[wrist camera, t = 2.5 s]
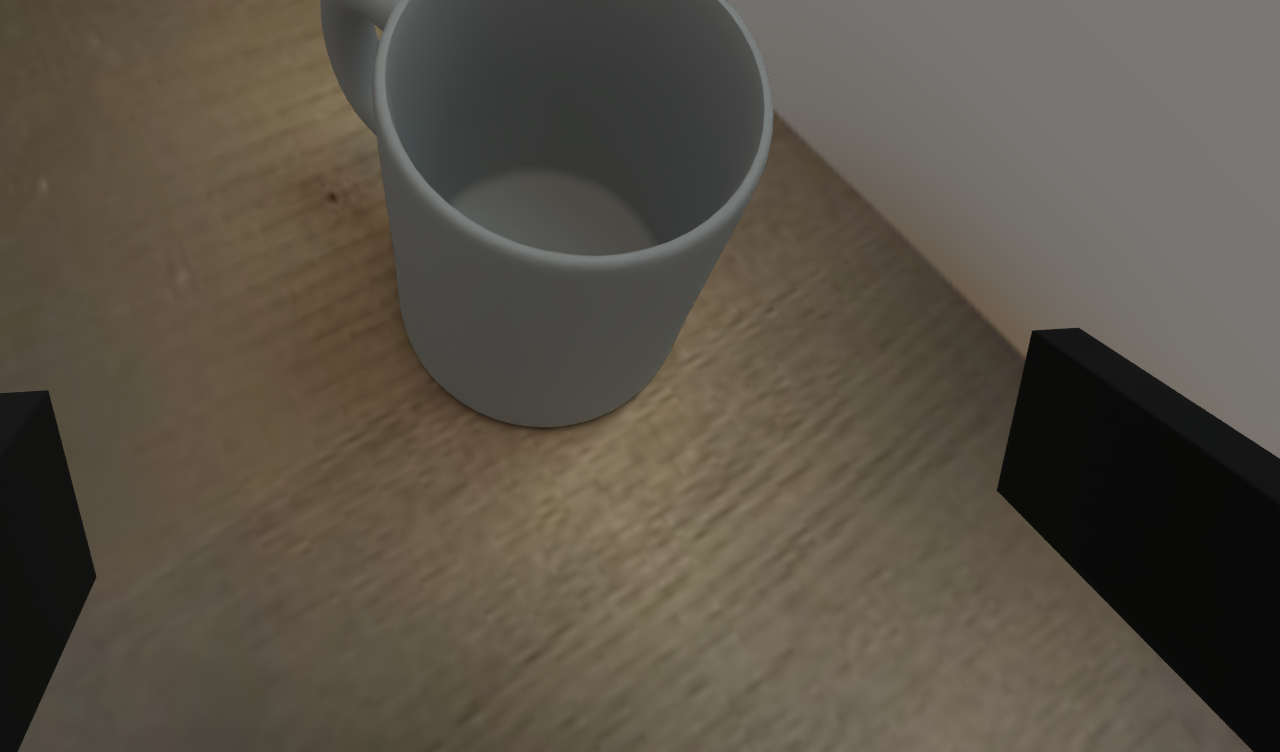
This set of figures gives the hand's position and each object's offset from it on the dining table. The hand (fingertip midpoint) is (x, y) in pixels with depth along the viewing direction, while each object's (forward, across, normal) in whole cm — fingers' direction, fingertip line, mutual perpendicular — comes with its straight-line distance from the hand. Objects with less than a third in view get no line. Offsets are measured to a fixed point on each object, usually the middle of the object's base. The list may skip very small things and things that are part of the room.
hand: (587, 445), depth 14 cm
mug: (+18, 0, -4) cm, 18 cm away
